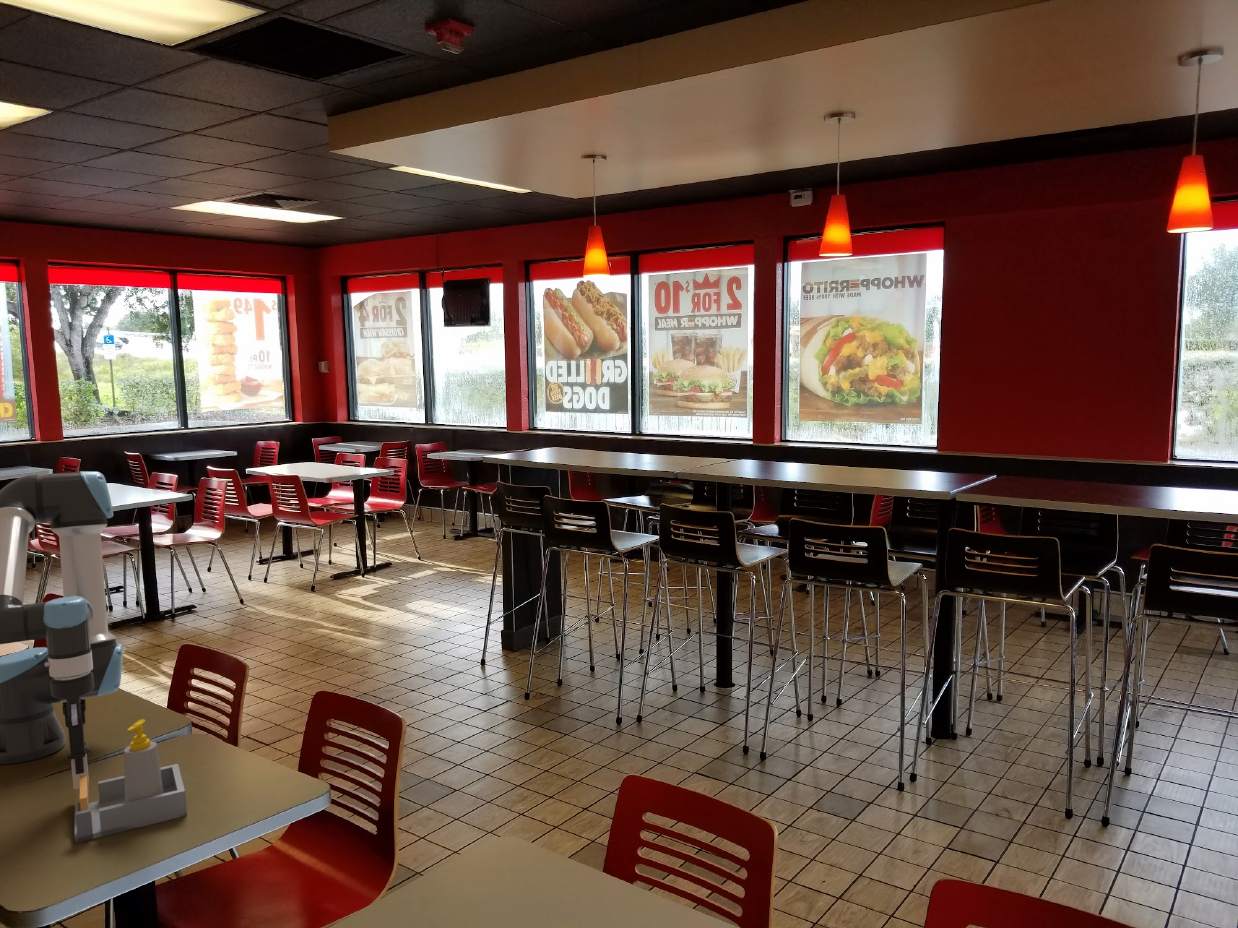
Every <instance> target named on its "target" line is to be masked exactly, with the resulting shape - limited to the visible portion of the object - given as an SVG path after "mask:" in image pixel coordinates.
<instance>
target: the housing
mask: <svg viewBox="0 0 1238 928" xmlns="http://www.w3.org/2000/svg"><path fill="white" fill-rule="evenodd" d="M160 770H161V777H162V785H163V792H164V794H159V795H155V796H151V797H147V798H143V799H138V800H134V801H130V802H126V803H125V780H124V775H121V776H117V777H113V778H108V779H104V780H98V781H97V787H98V799H99V800H95V801H93V802H92V801H91V802H89V809H87V810H83V811H81V808H80V802H76V803H74V829H73V830H74V832H73V833H74V844H79V843H83V842H86V841H91V840H95V839H99V838H102V837H107V836H110V835H114V834H119V833H122V832H126V831H130V830H134V829H138V828H143V827H146V826H151V825H154V824H157V823H162V822H166V821H169V820H174V819H178V818H181V817H186V816H187V815H188V814H187V811H188V810H187V801H186V789H185V786H184V783H183V778H182V774H181V770H180V766H179V763H175V764H171V765H166V766H162V767H161V766H160Z"/></svg>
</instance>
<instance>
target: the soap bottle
mask: <svg viewBox="0 0 1238 928" xmlns="http://www.w3.org/2000/svg"><path fill="white" fill-rule="evenodd" d="M145 722H146V719H145V718H142V719H138V720H137V721H136V722H135V723H134V724H132V725H131V726H130V727H129V728H127V732H128V733H131V732H133V731H134V732H135V733H136V735H134V736H133V738H132V741H131V742H130V743H129V745H128V746H125V748H124V749H123V771H124V775H123V776H124V780H125V803H126V802H130V801H134V800H138V799H143V798H147V797H151V796H155V795H159V794H164V792H163V785H162V777H161V770H160V768H161V764H160V756H159V749H158V744H157V742H155V741H153V740H152V741H151V739H150V738H147V735H146V734H145V733H143V731H144V723H145Z"/></svg>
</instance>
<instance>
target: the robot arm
mask: <svg viewBox="0 0 1238 928" xmlns="http://www.w3.org/2000/svg"><path fill="white" fill-rule="evenodd" d="M113 517H114V511H113V506H112V499H111V496H110V493H109V487H108V484H107V480H106V478H105V475H104V474H103V473H101V472H99V471H82V470H80V471H73V472H72V471H71V472H58V473H57V472H56V473H45V474H29V475H25V476H21V477H18V478H17V479H15V480H12V481H10V482H9V483H8V484H6V485H5V486H4V487H2V488H1V489H0V645H5V644H6V645H7V644H12V643H13V644H14V643H19V642H20V643H21V642H27V641H36V640H45V639H46V647H45V646H41V647H31V648H26V649H23V650H22V649H21V650H19V651H16V652H13V653H10V654H8V655H7V654H6V655H5V656H2V657H1V658H0V765H10V764H18V763H19V764H20V763H25V762H29V761H33V760H34V761H35V760H37V759H41V758H44V757H48V756H49V755H52V754H53V753H56V752H58V751H59V750H61V749H62V748H63V747H64V746H65V745H66V743H67V740H66V733H65V731H64V729H63V727H62V725H61V723H60V721H59V719H58V717H57V715H56V713H55V707H54V706H55V705H54V704H57V703H62V713H63V716H64V721H65V723H64V724H65V727H66V728H68V738H69V740H68V741H69V749H70V755H67V756H66V760H67V761H70V763H71V773H72V774H71V775H72V776H71V778H72V786H73V787H72V788H73V790H80V776H83V775H87V783H88V787H90V779H89V767H88V757H87V756H88V755H87V752H88V753H89V752H90V747H86V745H87V742H86V739H85V727H84V725H85V724H86V711H87V705H86V703H87V702H86V699H88V698H93V697H96V698H99V697H101V696H105V695H110V694H113V693H116V692H118V690H119V688H121V687H120V686H121V682H122V672H123V657H124V644H123V643H120V642H118V643H117V637H116V636H115V635H114V634H113V633H111V632H110V631H109V629H108V628H109V626H108V625H109V624H108V615H107V613H108V612H107V602H106V601H107V599H106V588H105V587H106V586H105V576H104V573H105V572H104V561H103V547H102V536H101V535H102V532H103V531H104V530H105V529H106V528H107V527H108V519H111V518H113ZM47 523H50V529H51V530H50V531H51V532H53V533H54V534H56V535H57V536H58V538H59V539H58V540H59V552H60V553H59V554H60V567H61V579H62V595H63V597H58V598H54V599H51V600H48V601H44V602H36V603H28V604H27V603H26V604H24V600H25V599H24V597H25V587H26V585H25V584H26V571H27V561H28V560H27V558H28V549H29V534H30V533H31V532H32V531H33V529H34V528H35V525H36V524H47Z"/></svg>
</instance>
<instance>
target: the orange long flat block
mask: <svg viewBox="0 0 1238 928" xmlns="http://www.w3.org/2000/svg"><path fill="white" fill-rule="evenodd" d="M89 803H90V802H89V786H88V783H87V775H83V776H80V788H79V805H80V808H81V811H83V810H87V809H89Z"/></svg>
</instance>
